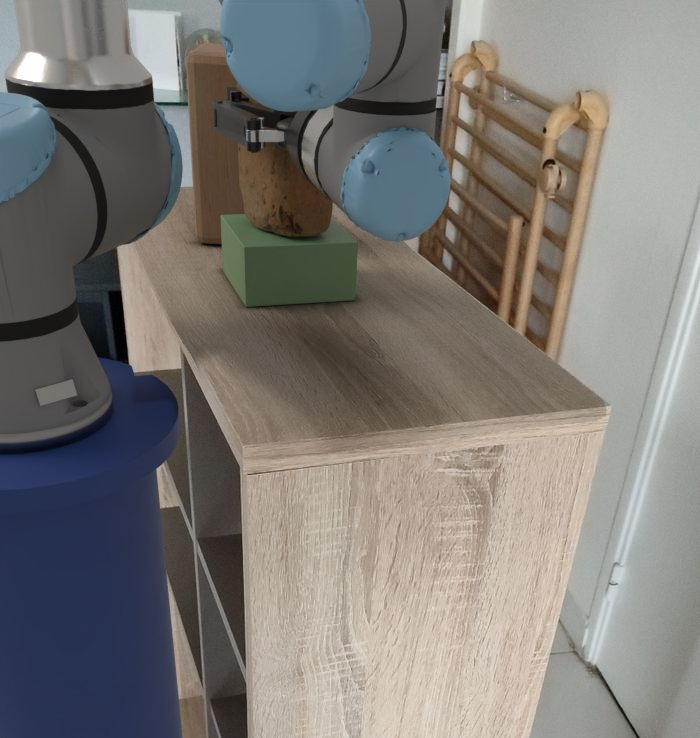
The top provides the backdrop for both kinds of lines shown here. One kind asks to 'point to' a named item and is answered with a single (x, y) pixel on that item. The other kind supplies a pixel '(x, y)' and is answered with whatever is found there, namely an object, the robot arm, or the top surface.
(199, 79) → the wooden block
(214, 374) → the top surface
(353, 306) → the top surface
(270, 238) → the green base
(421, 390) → the top surface
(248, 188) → the brown porous chunk
